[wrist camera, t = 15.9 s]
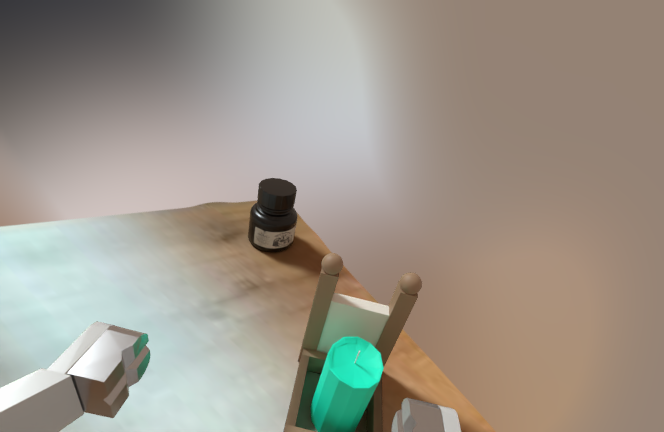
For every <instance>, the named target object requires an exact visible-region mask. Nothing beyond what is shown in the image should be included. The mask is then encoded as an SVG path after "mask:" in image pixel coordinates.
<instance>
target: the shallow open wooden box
mask: <svg viewBox="0 0 664 432" xmlns="http://www.w3.org/2000/svg"><path fill="white" fill-rule="evenodd" d="M327 355H328V354H327V353H323V352H319V351H315V350H311V349H307V348H303V351H302V355H301V359H300V363H299V367H298V372H297V376H296V380H295V385H294V389H293V393H292V398H291V402H290V406H289V410H288V415H287V419H286V423H285V428H284V432H316V431H312V430H307V429H303V428H299V427H295V424H296V420H297V415H298V410H299V405H300V400H301V395H302V391H303V386H304V381H305V376H306V371H311V372H315V373H319V374H321V373H322V370H323V367H324V364H325V361H326V358H327ZM367 432H383V430H382V375H381V378H380V381H379V383H378V385H377V387H376V389H375V391H374V393H373V395H372V397H371V399H370V401H369V403H368V405H367Z"/></svg>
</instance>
